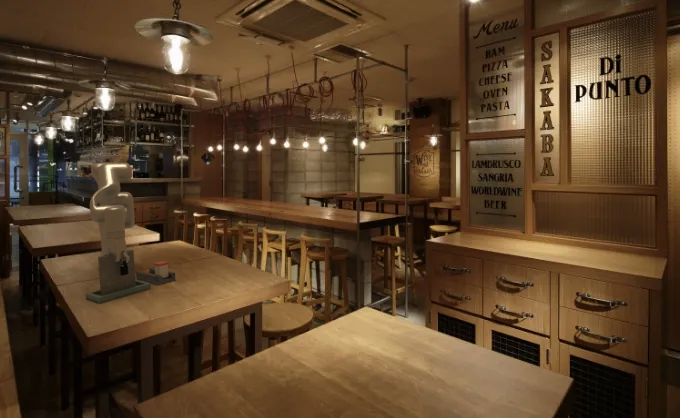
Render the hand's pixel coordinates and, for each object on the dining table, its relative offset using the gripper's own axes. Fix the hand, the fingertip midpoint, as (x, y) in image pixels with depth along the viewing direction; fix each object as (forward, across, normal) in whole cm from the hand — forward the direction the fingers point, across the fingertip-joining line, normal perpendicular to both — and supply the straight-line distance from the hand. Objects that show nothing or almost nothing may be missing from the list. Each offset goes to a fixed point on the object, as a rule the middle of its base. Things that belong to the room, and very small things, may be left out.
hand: (118, 273), depth 177 cm
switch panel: (+9, -5, +21) cm, 24 cm away
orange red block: (+7, 0, +21) cm, 22 cm away
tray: (+9, 0, 0) cm, 9 cm away
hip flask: (+9, 0, 0) cm, 9 cm away
